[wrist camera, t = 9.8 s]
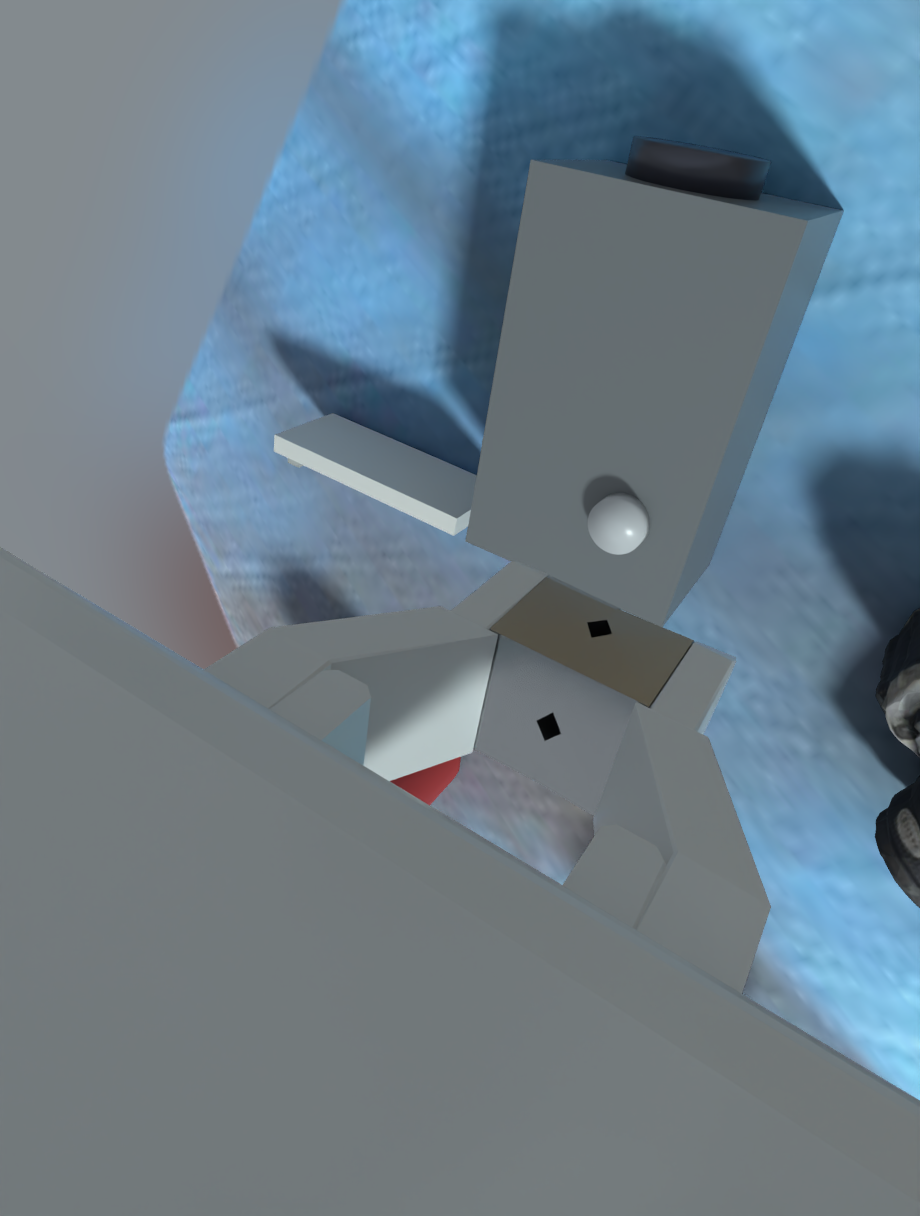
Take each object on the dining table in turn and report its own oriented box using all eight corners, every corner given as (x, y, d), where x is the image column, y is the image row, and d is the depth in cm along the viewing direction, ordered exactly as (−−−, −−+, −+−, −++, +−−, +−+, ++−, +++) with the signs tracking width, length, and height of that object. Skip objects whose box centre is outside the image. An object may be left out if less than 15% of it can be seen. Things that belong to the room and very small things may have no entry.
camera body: (608, 126, 33) (521, 119, 27) (857, 175, 29) (818, 178, 24) (529, 493, 43) (453, 545, 37) (708, 565, 39) (656, 635, 33)
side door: (330, 437, 48) (273, 461, 44) (332, 413, 47) (274, 434, 43) (499, 513, 44) (451, 545, 40) (505, 487, 43) (456, 518, 39)
